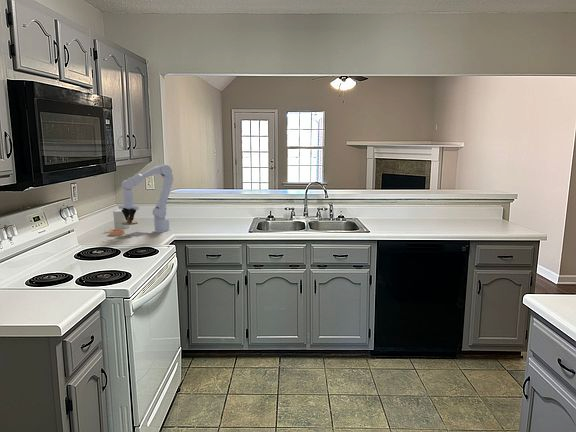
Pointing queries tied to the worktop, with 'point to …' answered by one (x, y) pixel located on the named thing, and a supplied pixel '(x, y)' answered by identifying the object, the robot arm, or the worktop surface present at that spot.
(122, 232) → the bowl
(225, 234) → the worktop surface
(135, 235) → the mat
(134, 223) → the lid
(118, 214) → the supplement box
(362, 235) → the worktop surface
